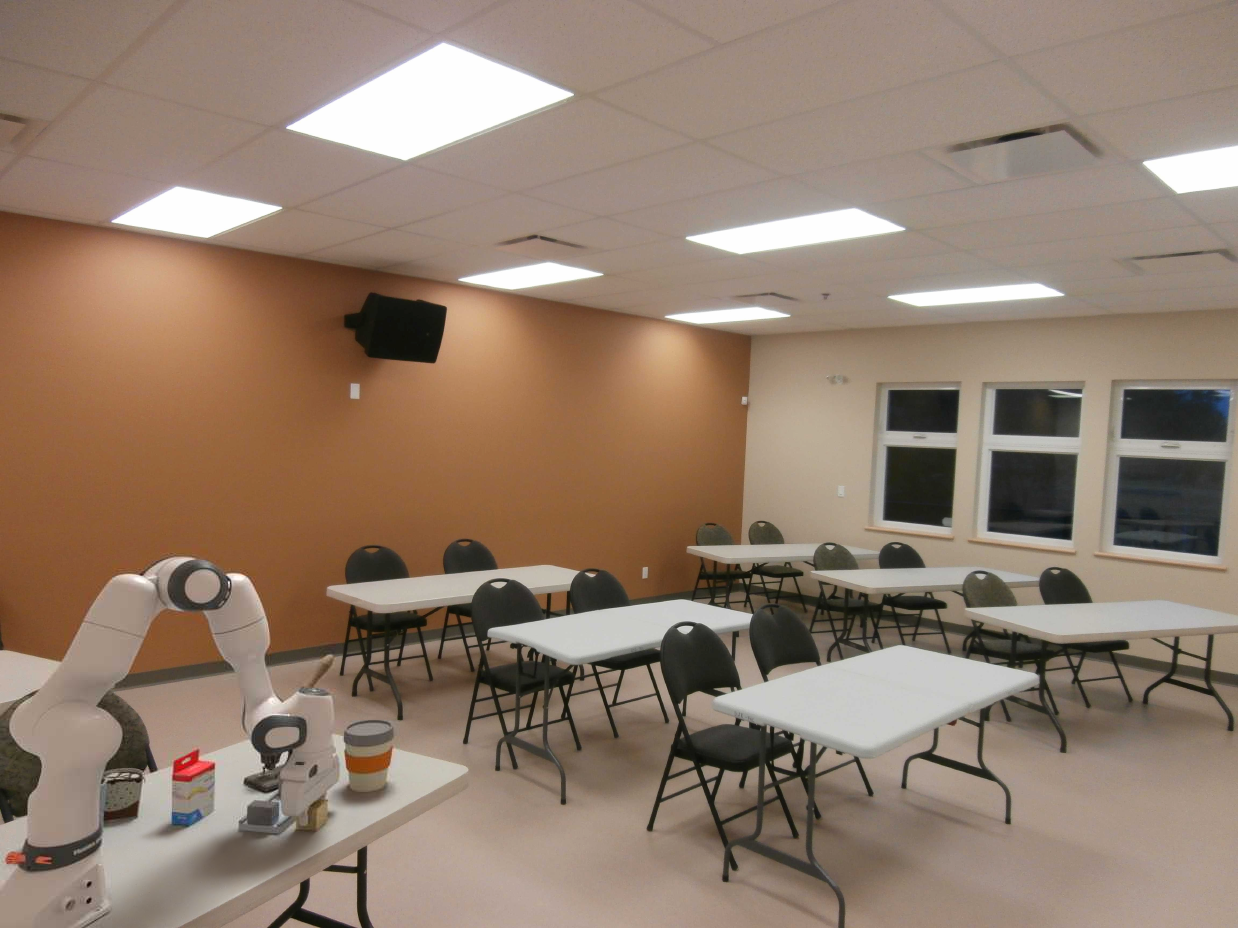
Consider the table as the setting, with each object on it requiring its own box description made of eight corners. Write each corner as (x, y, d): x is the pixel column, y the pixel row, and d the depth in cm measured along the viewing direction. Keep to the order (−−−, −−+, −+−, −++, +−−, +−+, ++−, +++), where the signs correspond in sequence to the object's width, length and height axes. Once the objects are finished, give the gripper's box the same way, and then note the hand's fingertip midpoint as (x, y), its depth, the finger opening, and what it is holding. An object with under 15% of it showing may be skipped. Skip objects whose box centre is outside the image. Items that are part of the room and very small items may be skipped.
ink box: (189, 826, 179) (189, 763, 179) (170, 824, 180) (171, 760, 180) (215, 810, 188) (216, 749, 187) (197, 807, 189) (198, 747, 188)
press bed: (279, 833, 177) (280, 804, 177) (238, 829, 178) (239, 801, 178) (319, 798, 195) (320, 772, 195) (282, 795, 196) (282, 769, 196)
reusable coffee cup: (355, 772, 211) (356, 717, 210) (400, 775, 209) (401, 720, 209) (333, 793, 198) (334, 734, 198) (381, 796, 197) (382, 737, 197)
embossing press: (240, 783, 203) (242, 668, 202) (321, 755, 222) (323, 650, 222) (264, 794, 197) (265, 676, 196) (345, 765, 216) (347, 657, 215)
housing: (316, 830, 178) (316, 808, 178) (295, 828, 179) (296, 806, 179) (327, 820, 183) (327, 798, 183) (307, 818, 184) (307, 796, 184)
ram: (271, 825, 177) (271, 807, 177) (246, 823, 178) (247, 805, 178) (281, 816, 181) (282, 799, 181) (257, 814, 182) (257, 797, 182)
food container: (149, 805, 189) (150, 764, 189) (144, 816, 184) (145, 774, 183) (89, 813, 185) (89, 771, 184) (82, 824, 179) (83, 781, 179)
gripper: (322, 741, 192) (321, 797, 192) (275, 774, 171) (274, 837, 172) (346, 742, 191) (345, 799, 191) (303, 777, 171) (301, 839, 171)
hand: (311, 817), depth 181 cm, fingers closed on housing, 5 cm apart
